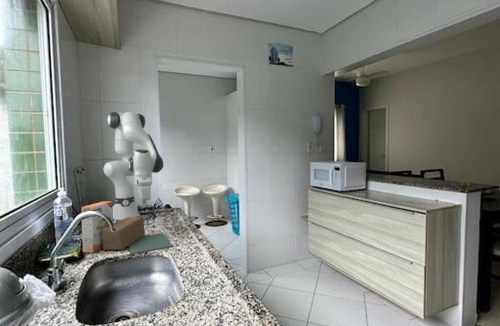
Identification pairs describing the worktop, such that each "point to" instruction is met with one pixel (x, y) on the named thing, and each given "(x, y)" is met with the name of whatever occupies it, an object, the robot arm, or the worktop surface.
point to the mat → (149, 243)
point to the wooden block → (123, 233)
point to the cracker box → (95, 226)
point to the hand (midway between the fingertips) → (143, 206)
